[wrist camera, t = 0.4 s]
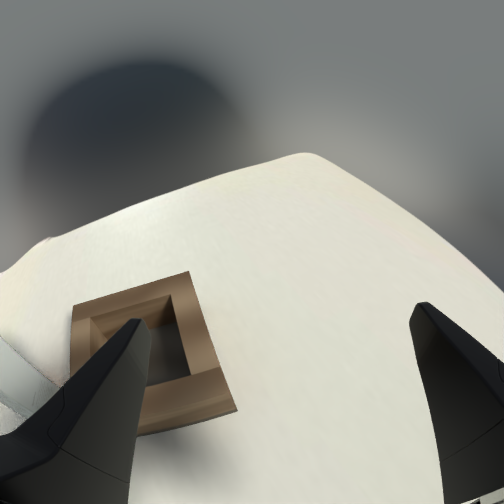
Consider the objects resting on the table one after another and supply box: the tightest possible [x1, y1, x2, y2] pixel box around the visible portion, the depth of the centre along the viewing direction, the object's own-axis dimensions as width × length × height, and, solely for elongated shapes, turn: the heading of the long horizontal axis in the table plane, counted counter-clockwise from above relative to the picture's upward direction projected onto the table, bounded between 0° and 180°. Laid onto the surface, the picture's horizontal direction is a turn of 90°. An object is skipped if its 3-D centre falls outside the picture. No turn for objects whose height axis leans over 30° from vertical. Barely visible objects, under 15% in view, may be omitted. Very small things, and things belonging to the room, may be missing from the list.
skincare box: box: [0, 336, 60, 419], centre depth 16 cm, size 6×4×12 cm
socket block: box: [70, 271, 238, 437], centre depth 23 cm, size 13×13×5 cm
